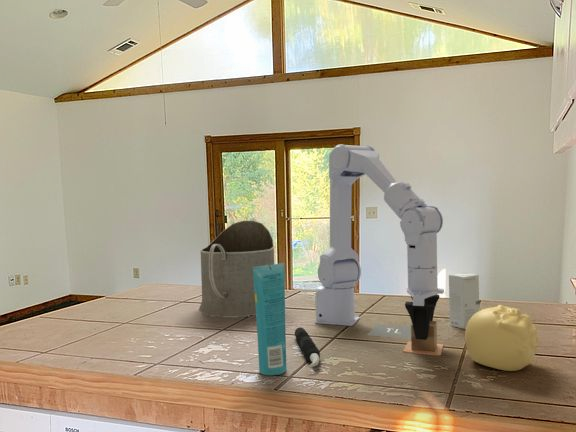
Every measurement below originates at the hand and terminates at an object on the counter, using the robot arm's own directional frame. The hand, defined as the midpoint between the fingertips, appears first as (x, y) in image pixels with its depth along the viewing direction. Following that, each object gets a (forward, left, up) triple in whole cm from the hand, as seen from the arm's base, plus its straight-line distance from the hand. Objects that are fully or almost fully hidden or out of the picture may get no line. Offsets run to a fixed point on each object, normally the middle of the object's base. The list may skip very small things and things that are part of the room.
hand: (423, 334), depth 94 cm
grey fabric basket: (-54, +19, -3) cm, 57 cm away
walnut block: (0, 0, -3) cm, 3 cm away
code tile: (-8, +11, -3) cm, 14 cm away
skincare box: (+7, +21, -3) cm, 22 cm away
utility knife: (-22, -10, -3) cm, 24 cm away
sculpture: (+14, -5, -3) cm, 15 cm away
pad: (0, 0, -3) cm, 3 cm away
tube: (-24, -21, -3) cm, 32 cm away
